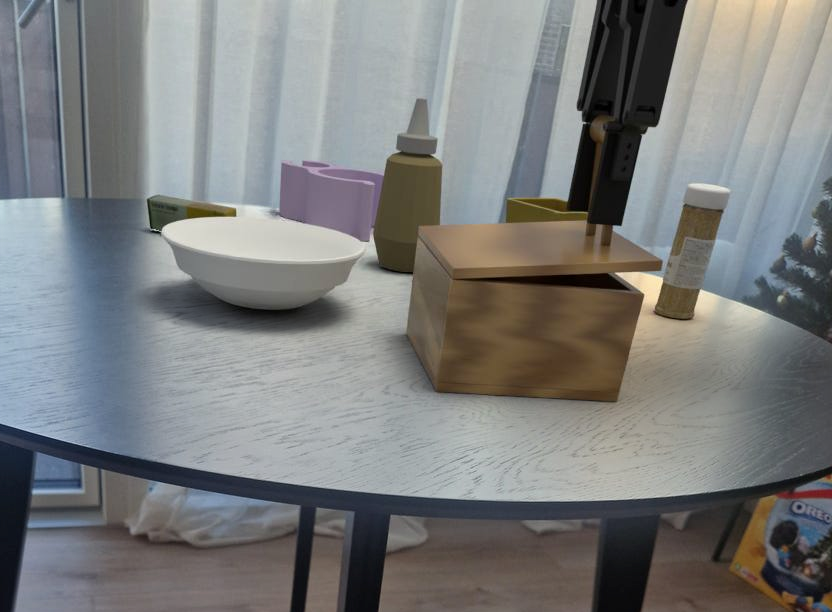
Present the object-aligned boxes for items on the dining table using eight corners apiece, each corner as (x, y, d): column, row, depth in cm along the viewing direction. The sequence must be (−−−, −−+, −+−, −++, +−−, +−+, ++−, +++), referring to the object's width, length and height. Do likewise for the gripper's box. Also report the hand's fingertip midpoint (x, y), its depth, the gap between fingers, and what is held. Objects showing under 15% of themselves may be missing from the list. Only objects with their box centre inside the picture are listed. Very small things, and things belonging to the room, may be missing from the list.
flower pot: (541, 273, 118) (556, 196, 113) (592, 290, 112) (611, 210, 107) (491, 277, 113) (505, 197, 108) (543, 295, 108) (559, 212, 103)
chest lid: (594, 229, 86) (609, 107, 80) (661, 271, 72) (685, 128, 66) (418, 235, 84) (421, 112, 79) (452, 279, 71) (459, 134, 65)
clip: (258, 213, 135) (260, 160, 131) (322, 209, 142) (325, 159, 138) (352, 242, 123) (357, 185, 119) (416, 236, 131) (422, 183, 127)
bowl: (318, 279, 104) (322, 218, 101) (391, 330, 89) (399, 261, 86) (142, 279, 97) (140, 213, 93) (190, 335, 82) (190, 260, 79)
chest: (560, 343, 91) (581, 248, 86) (617, 402, 78) (645, 294, 73) (405, 333, 89) (417, 235, 84) (435, 391, 76) (452, 279, 71)
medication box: (148, 232, 117) (144, 197, 115) (161, 227, 119) (157, 193, 117) (227, 246, 113) (225, 211, 111) (239, 241, 115) (238, 206, 112)
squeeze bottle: (381, 257, 117) (398, 93, 107) (442, 267, 115) (465, 102, 105) (360, 268, 111) (376, 95, 101) (425, 279, 109) (447, 104, 99)
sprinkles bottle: (653, 307, 108) (687, 180, 101) (693, 313, 107) (730, 186, 100) (653, 316, 104) (688, 185, 97) (694, 322, 103) (732, 191, 96)
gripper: (578, -135, 71) (522, 196, 84) (668, -173, 56) (582, 236, 69) (670, -123, 72) (601, 202, 85) (782, -157, 57) (677, 243, 70)
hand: (593, 216), depth 77 cm, fingers closed on chest lid, 5 cm apart
